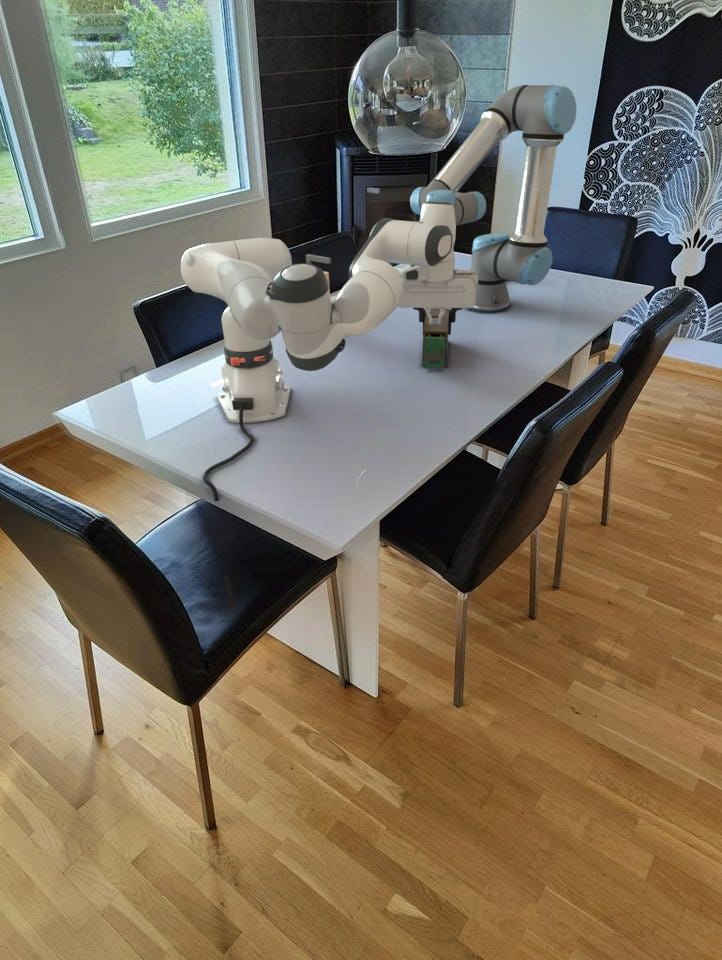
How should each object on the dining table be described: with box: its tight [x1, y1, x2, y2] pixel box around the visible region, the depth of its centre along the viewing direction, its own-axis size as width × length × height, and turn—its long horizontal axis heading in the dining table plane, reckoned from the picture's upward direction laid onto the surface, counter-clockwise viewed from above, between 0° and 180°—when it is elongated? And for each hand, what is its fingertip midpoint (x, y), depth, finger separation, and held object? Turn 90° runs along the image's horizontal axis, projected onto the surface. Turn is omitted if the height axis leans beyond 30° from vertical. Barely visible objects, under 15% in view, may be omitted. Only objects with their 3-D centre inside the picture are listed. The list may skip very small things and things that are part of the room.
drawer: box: [423, 334, 445, 369], centre depth 186 cm, size 23×6×9 cm, turn 173°
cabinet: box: [422, 308, 450, 368], centre depth 191 cm, size 19×7×10 cm, turn 173°
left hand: (435, 323), depth 174 cm, fingers closed
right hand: (436, 332), depth 195 cm, fingers closed on cabinet, 7 cm apart
